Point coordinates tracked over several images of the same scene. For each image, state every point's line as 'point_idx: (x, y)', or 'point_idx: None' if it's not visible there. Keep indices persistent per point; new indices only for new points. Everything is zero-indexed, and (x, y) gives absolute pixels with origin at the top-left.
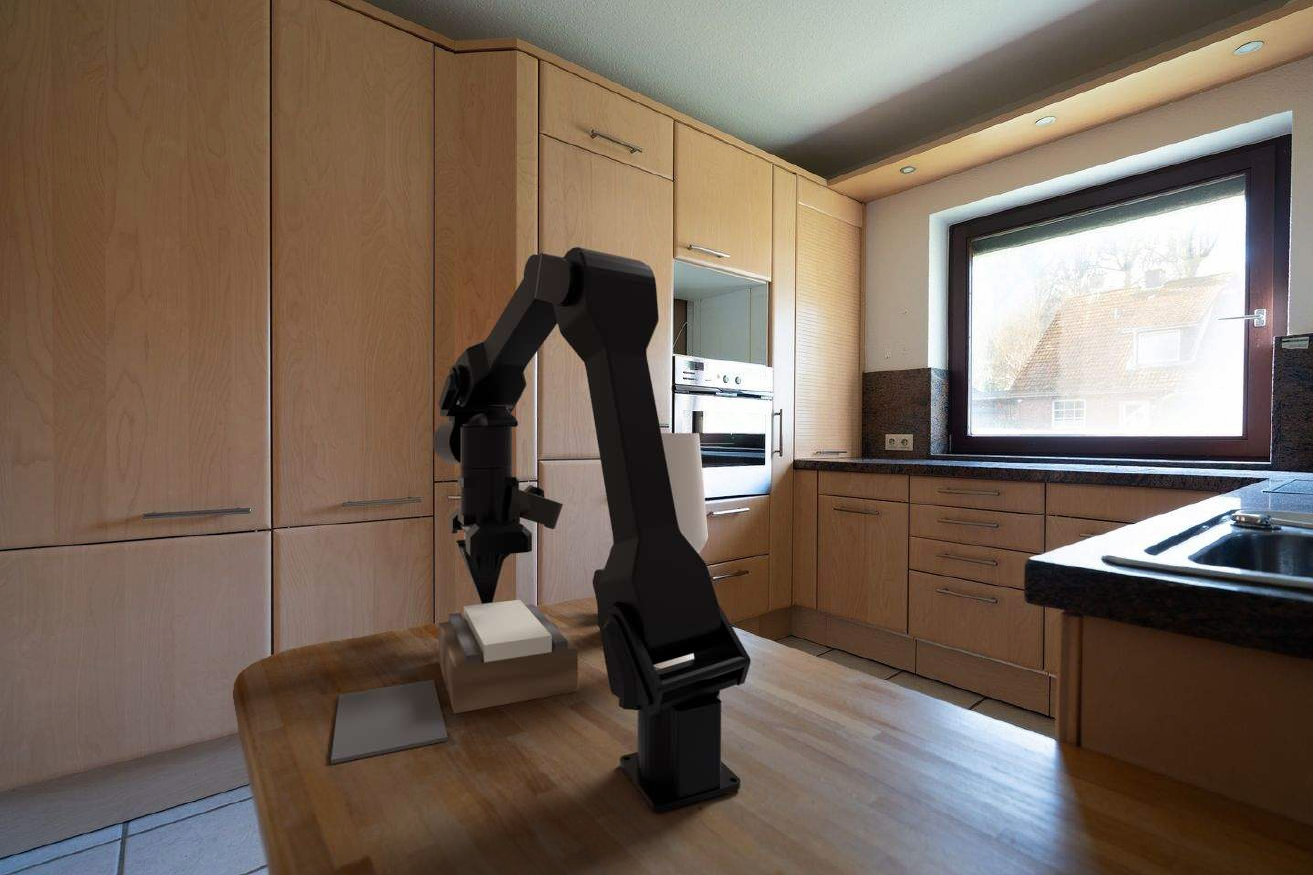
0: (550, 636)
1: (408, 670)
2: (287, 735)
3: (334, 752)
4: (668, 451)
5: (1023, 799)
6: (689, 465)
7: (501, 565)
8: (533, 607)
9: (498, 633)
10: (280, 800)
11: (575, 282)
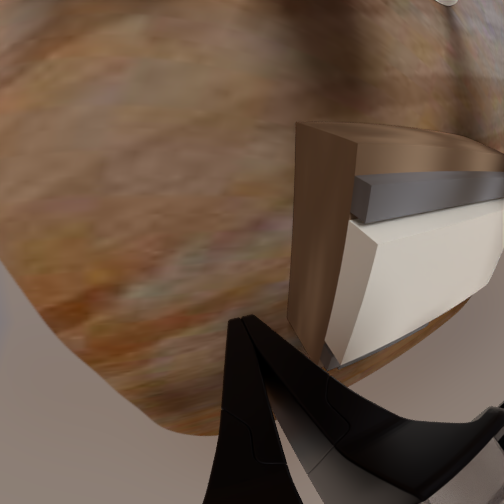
0: None
1: (300, 341)
2: (375, 363)
3: (421, 328)
4: None
5: None
6: None
7: (377, 407)
8: (397, 191)
9: (481, 273)
10: (434, 329)
11: None
